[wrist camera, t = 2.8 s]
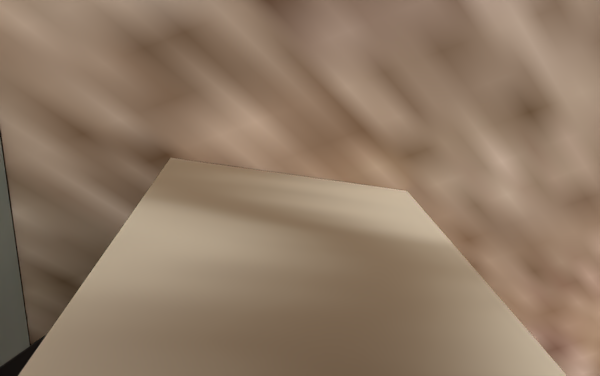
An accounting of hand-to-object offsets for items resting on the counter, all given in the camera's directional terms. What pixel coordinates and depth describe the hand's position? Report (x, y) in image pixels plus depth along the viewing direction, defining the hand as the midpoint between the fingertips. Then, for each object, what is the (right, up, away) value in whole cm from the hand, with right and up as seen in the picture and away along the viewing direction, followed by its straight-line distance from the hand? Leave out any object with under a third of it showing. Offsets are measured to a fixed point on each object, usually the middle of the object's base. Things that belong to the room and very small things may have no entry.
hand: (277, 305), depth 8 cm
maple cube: (0, 0, +1) cm, 1 cm away
